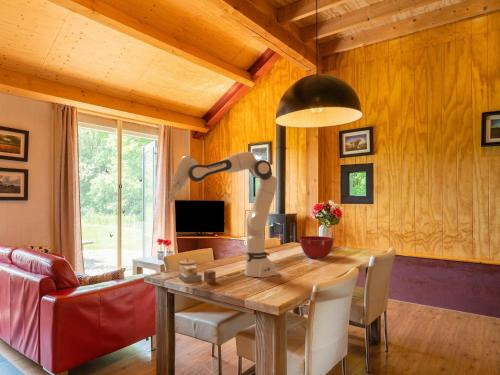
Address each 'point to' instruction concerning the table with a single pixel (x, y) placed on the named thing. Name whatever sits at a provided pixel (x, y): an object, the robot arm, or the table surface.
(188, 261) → the lidded jar
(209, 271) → the walnut block
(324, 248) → the mixing bowl
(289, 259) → the table surface
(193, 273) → the oak block
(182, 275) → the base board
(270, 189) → the robot arm
